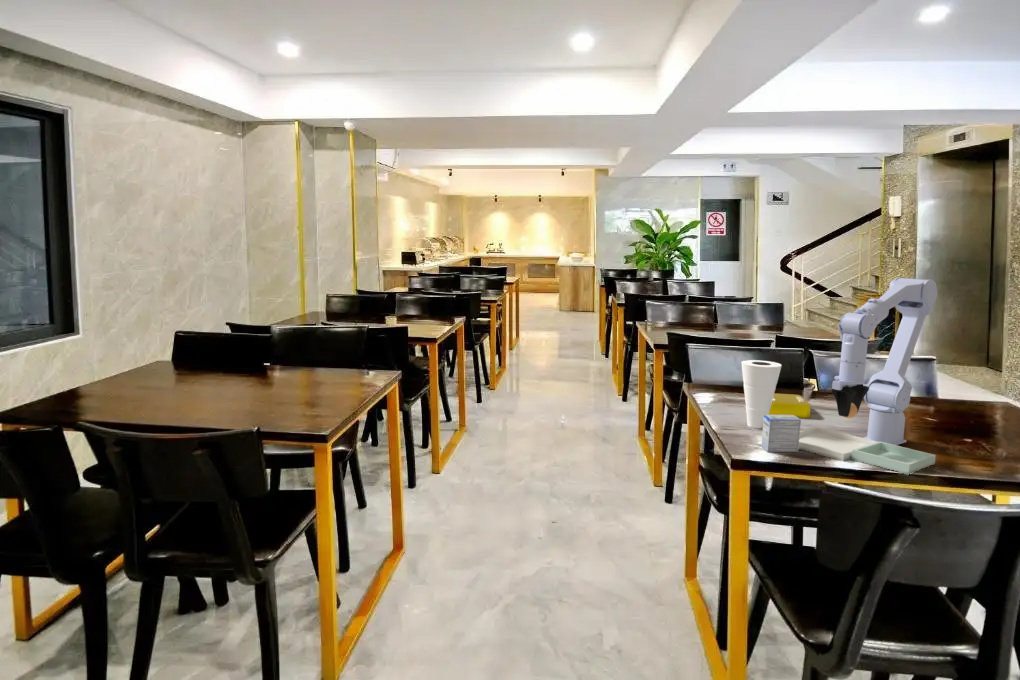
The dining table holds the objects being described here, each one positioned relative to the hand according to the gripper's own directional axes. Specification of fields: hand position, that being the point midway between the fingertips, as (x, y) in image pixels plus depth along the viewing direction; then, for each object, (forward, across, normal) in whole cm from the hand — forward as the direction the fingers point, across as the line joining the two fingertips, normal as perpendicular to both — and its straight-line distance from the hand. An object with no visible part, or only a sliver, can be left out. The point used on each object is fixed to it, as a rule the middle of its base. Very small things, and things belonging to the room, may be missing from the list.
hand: (847, 414), depth 185 cm
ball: (-1, 0, 0) cm, 1 cm away
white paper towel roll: (+10, -2, -27) cm, 28 cm away
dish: (+9, -1, +12) cm, 15 cm away
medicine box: (+10, +13, -10) cm, 19 cm away
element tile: (+10, -25, -33) cm, 43 cm away
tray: (+9, -1, -5) cm, 11 cm away
